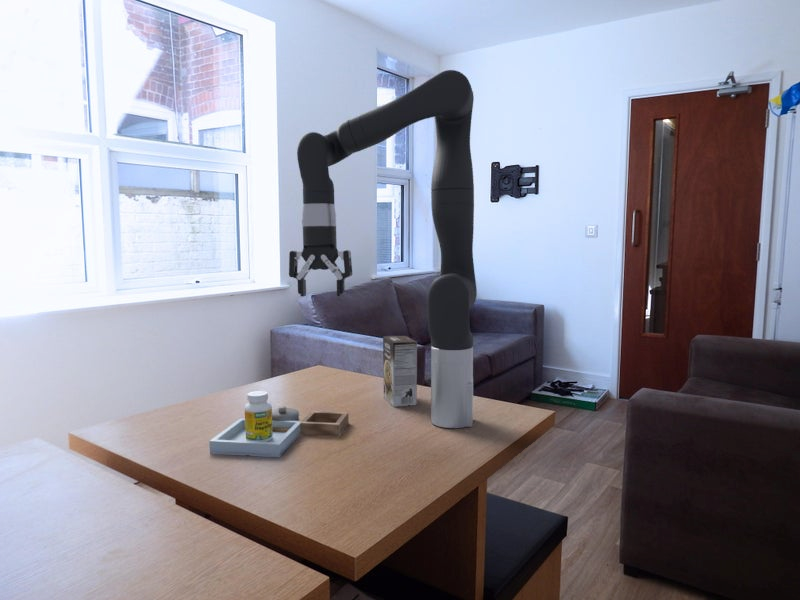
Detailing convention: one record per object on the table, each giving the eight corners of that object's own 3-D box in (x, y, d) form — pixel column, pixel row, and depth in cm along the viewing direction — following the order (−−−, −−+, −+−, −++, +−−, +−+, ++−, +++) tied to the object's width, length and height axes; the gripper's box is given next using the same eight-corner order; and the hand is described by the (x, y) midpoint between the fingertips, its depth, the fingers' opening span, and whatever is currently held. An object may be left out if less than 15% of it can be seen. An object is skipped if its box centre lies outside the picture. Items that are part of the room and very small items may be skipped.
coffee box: (382, 397, 149) (382, 336, 147) (406, 395, 151) (406, 334, 149) (392, 407, 140) (392, 342, 139) (417, 405, 142) (417, 340, 140)
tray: (302, 432, 122) (302, 421, 122) (279, 457, 109) (279, 444, 108) (240, 429, 125) (240, 418, 124) (209, 453, 111) (209, 441, 110)
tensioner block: (349, 422, 129) (349, 403, 129) (338, 437, 119) (337, 416, 119) (269, 418, 132) (268, 400, 131) (252, 433, 122) (251, 413, 122)
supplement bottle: (264, 433, 120) (262, 388, 119) (277, 439, 117) (276, 393, 116) (240, 439, 117) (239, 393, 116) (254, 446, 113) (252, 398, 112)
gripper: (353, 224, 133) (355, 294, 134) (294, 225, 135) (296, 294, 136) (346, 224, 125) (348, 298, 127) (283, 224, 127) (285, 297, 129)
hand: (321, 296), depth 132 cm, fingers open, 8 cm apart
